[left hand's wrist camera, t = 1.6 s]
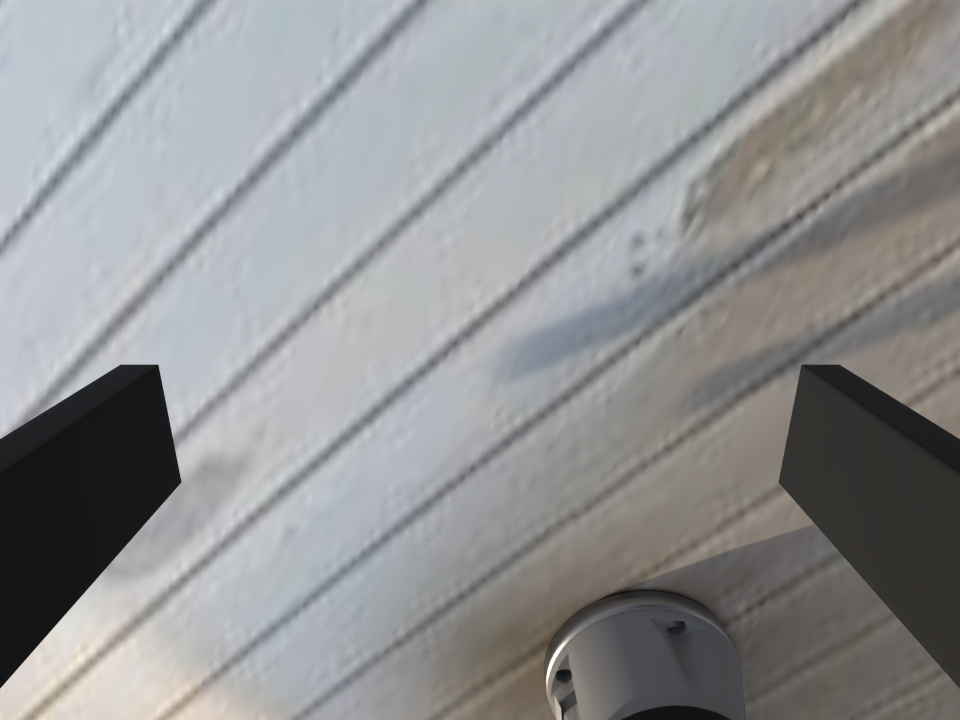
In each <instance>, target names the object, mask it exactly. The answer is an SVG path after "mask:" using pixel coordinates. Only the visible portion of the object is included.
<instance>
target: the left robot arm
mask: <svg viewBox="0 0 960 720" xmlns="http://www.w3.org/2000/svg"><path fill="white" fill-rule="evenodd" d="M180 483H181V478H180V472H179V467H178V462H177V457H176V452H175V447H174V442H173V437H172V432H171V427H170V422H169V417H168V412H167V406H166V401H165V396H164V391H163V386H162V381H161V376H160V371H159V366H158V365H120V366H118V367H116V368H115V369H113V370H111V371H110V372H108V373H107V374H105V375H103V376H102V377H100V378H98V379H97V380H95V381H94V382H92V383H90V384H89V385H87V386H86V387H84V388H82V389H81V390H79V391H77V392H76V393H74V394H73V395H71V396H69V397H68V398H66V399H65V400H63V401H61V402H60V403H58V404H56V405H55V406H53V407H52V408H50V409H48V410H47V411H45V412H43V413H42V414H40V415H39V416H37V417H35V418H34V419H32V420H31V421H29V422H27V423H26V424H24V425H22V426H21V427H19V428H18V429H16V430H14V431H13V432H11V433H10V434H8V435H6V436H5V437H3V438H1V439H0V688H1V687H2V686H3V685H4V684H5V682H6V681H7V680H8V679H9V678H10V677H11V676H12V674H13V673H14V672H15V671H16V670H17V669H18V668H19V666H20V665H21V664H22V663H23V662H24V661H25V660H26V658H27V657H28V656H29V655H30V654H31V653H32V652H33V651H34V649H35V648H36V647H37V646H38V645H39V644H40V643H41V641H42V640H43V639H44V638H45V637H46V636H47V635H48V633H49V632H50V631H51V630H52V629H53V628H54V627H55V626H56V624H57V623H58V622H59V621H60V620H61V619H62V618H63V616H64V615H65V614H66V613H67V612H68V611H69V610H70V608H71V607H72V606H73V605H74V604H75V603H76V602H77V600H78V599H79V598H80V597H81V596H82V595H83V594H84V593H85V591H86V590H87V589H88V588H89V587H90V586H91V585H92V583H93V582H94V581H95V580H96V579H97V578H98V577H99V575H100V574H101V573H102V572H103V571H104V570H105V569H106V567H107V566H108V565H109V564H110V563H111V562H112V561H113V560H114V558H115V557H116V556H117V555H118V554H119V553H120V552H121V550H122V549H123V548H124V547H125V546H126V545H127V544H128V542H129V541H130V540H131V539H132V538H133V537H134V536H135V534H136V533H137V532H138V531H139V530H140V529H141V528H142V527H143V525H144V524H145V523H146V522H147V521H148V520H149V519H150V517H151V516H152V515H153V514H154V513H155V512H156V511H157V509H158V508H159V507H160V506H161V505H162V504H163V503H164V502H165V500H166V499H167V498H168V497H169V496H170V495H171V494H172V492H173V491H174V490H175V489H176V488H177V487H178V486H179V484H180ZM779 483H780V484H781V486H782V487H783V488H784V489H785V490H786V491H787V492H788V494H789V495H790V496H791V497H792V498H793V499H794V500H795V502H796V503H797V504H798V505H799V506H800V507H801V508H802V509H803V511H804V512H805V513H806V514H807V515H808V516H809V517H810V519H811V520H812V521H813V522H814V523H815V524H816V525H817V527H818V528H819V529H820V530H821V531H822V532H823V533H824V534H825V536H826V537H827V538H828V539H829V540H830V541H831V542H832V544H833V545H834V546H835V547H836V548H837V549H838V550H839V552H840V553H841V554H842V555H843V556H844V557H845V558H846V560H847V561H848V562H849V563H850V564H851V565H852V566H853V567H854V569H855V570H856V571H857V572H858V573H859V574H860V575H861V577H862V578H863V579H864V580H865V581H866V582H867V583H868V585H869V586H870V587H871V588H872V589H873V590H874V591H875V593H876V594H877V595H878V596H879V597H880V598H881V599H882V600H883V602H884V603H885V604H886V605H887V606H888V607H889V608H890V610H891V611H892V612H893V613H894V614H895V615H896V616H897V618H898V619H899V620H900V621H901V622H902V623H903V624H904V626H905V627H906V628H907V629H908V630H909V631H910V632H911V633H912V635H913V636H914V637H915V638H916V639H917V640H918V641H919V643H920V644H921V645H922V646H923V647H924V648H925V649H926V651H927V652H928V653H929V654H930V655H931V656H932V657H933V658H934V660H935V661H936V662H937V663H938V664H939V665H940V666H941V668H942V669H943V670H944V671H945V672H946V673H947V674H948V676H949V677H950V678H951V679H952V680H953V681H954V682H955V684H956V685H957V686H958V687H959V688H960V439H959V438H957V437H955V436H954V435H952V434H950V433H949V432H947V431H946V430H944V429H942V428H941V427H939V426H938V425H936V424H934V423H933V422H931V421H929V420H928V419H926V418H925V417H923V416H921V415H920V414H918V413H916V412H915V411H913V410H912V409H910V408H908V407H907V406H905V405H904V404H902V403H900V402H899V401H897V400H895V399H894V398H892V397H891V396H889V395H887V394H886V393H884V392H883V391H881V390H879V389H878V388H876V387H874V386H873V385H871V384H870V383H868V382H866V381H865V380H863V379H862V378H860V377H858V376H857V375H855V374H853V373H852V372H850V371H849V370H847V369H845V368H844V367H842V366H840V365H802V366H801V371H800V376H799V381H798V386H797V391H796V396H795V401H794V406H793V412H792V417H791V422H790V427H789V432H788V437H787V442H786V447H785V452H784V457H783V462H782V467H781V472H780V478H779ZM544 674H545V683H546V691H547V698H548V702H549V705H550V708H551V710H552V712H553V714H554V716H555V718H556V720H746V715H745V705H744V695H743V686H742V676H741V666H740V661H739V657H738V654H737V652H736V650H735V648H734V646H733V644H732V642H731V640H730V638H729V636H728V634H727V632H726V630H725V628H724V627H723V625H722V624H721V622H720V621H719V620H718V619H717V618H716V617H715V616H714V615H713V614H712V613H711V612H710V611H709V610H707V609H706V608H705V607H703V606H701V605H700V604H698V603H696V602H694V601H692V600H690V599H687V598H685V597H682V596H679V595H675V594H671V593H665V592H657V591H636V592H628V593H622V594H617V595H613V596H610V597H607V598H604V599H602V600H599V601H597V602H595V603H592V604H590V605H588V606H587V607H585V608H583V609H582V610H580V611H579V612H577V613H576V614H575V615H573V616H572V617H571V618H570V619H569V620H568V621H566V622H565V624H564V625H563V626H562V627H561V628H560V629H559V630H558V632H557V633H556V634H555V636H554V638H553V639H552V641H551V643H550V645H549V647H548V650H547V653H546V658H545V664H544Z"/></svg>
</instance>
